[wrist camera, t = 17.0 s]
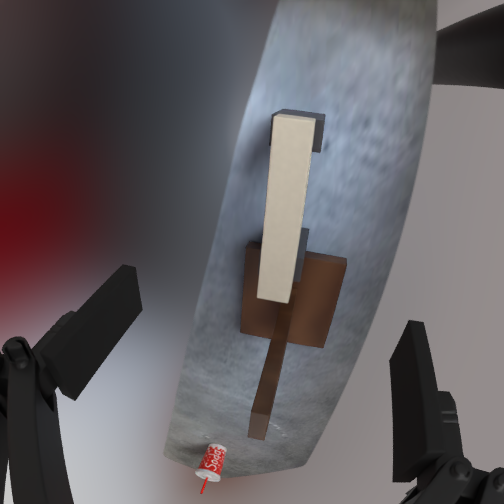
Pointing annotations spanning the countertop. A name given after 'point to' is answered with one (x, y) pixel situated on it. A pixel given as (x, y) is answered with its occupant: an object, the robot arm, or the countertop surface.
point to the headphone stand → (288, 320)
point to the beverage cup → (211, 463)
